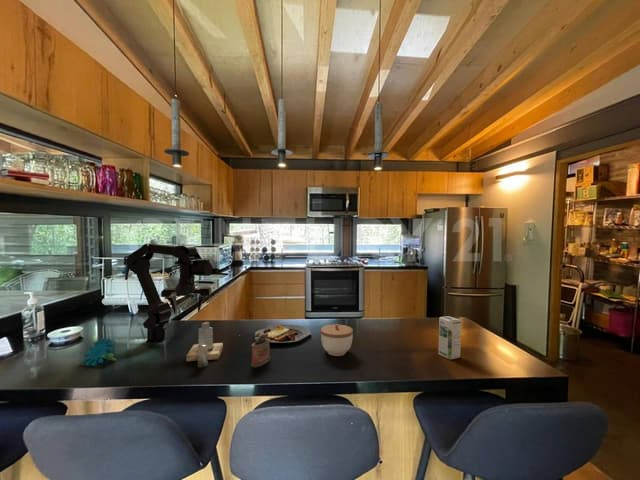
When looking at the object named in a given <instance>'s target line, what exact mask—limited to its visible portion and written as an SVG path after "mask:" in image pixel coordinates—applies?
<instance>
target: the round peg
mask: <svg viewBox="0 0 640 480" xmlns="http://www.w3.org/2000/svg"><path fill="white" fill-rule="evenodd" d="M208 362H209V360H208V345H207V344H200V345H198V360H197V367H198V368H206V367H207V366H208Z"/></svg>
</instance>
